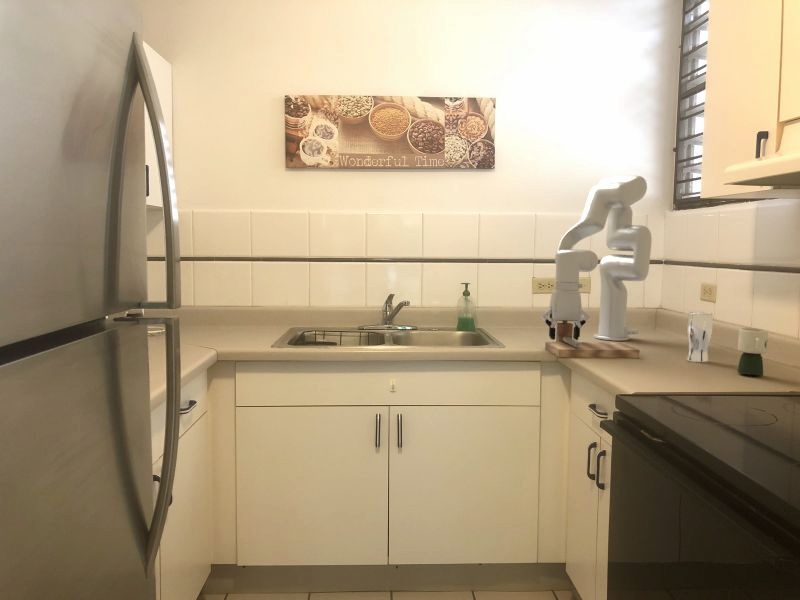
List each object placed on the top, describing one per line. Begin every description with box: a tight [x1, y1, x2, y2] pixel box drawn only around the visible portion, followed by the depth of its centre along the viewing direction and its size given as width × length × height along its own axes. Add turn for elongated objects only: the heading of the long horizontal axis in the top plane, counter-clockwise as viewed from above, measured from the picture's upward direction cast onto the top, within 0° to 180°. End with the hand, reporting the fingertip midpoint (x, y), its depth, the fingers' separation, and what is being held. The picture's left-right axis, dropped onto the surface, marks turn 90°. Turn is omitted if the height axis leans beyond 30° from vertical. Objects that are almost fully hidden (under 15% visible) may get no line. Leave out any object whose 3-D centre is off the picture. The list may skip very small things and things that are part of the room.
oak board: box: [544, 341, 640, 359], centre depth 203 cm, size 26×14×3 cm, turn 94°
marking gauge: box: [555, 321, 582, 347], centre depth 205 cm, size 4×15×9 cm, turn 4°
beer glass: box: [686, 311, 714, 364], centre depth 194 cm, size 7×7×15 cm
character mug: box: [737, 327, 769, 377], centre depth 175 cm, size 11×7×13 cm, turn 166°
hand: (564, 338), depth 212 cm, fingers open, 7 cm apart
